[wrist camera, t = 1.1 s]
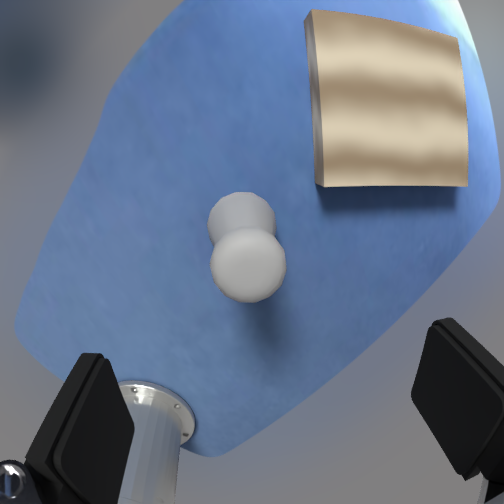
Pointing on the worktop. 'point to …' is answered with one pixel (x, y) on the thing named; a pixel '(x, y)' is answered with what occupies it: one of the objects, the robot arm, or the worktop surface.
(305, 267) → the worktop surface
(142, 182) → the worktop surface
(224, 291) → the salt shaker
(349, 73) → the plinth
